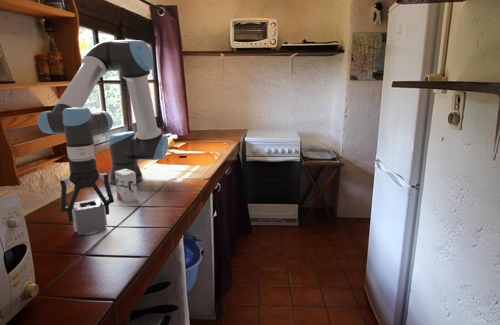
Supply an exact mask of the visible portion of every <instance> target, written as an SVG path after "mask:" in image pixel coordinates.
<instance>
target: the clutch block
mask: <svg viewBox="0 0 500 325" xmlns="http://www.w3.org/2000/svg"><path fill="white" fill-rule="evenodd" d="M103 204H104V203H103V202H102V200H101V199H100V197H99V198H95V199H88V200H80V201H77V202H76V201H75V204H74V207H73V209H74V211H75V217H76V224H77V236H81V234H86V233H91V232H95V231H100V230H102V231H104V230H107V225H106V223H105V215H104V206H103ZM86 205H91V206H88V207H86Z"/></svg>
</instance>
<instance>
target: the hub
mask: <svg viewBox="0 0 500 325" xmlns="http://www.w3.org/2000/svg"><path fill="white" fill-rule="evenodd" d="M88 206H91V205H86V207H88ZM102 231H103V230H100V231H95V232H91V233H86V234H81V235H82V236H91V235H92V236H93V235H96V234H98V233H100V232H102ZM81 235H80V236H81Z"/></svg>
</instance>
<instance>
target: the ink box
mask: <svg viewBox="0 0 500 325" xmlns="http://www.w3.org/2000/svg"><path fill="white" fill-rule="evenodd" d="M115 178H116V184H115V189H116V197H117V199H118V200H120V201H123V202H124V203H127V204H128V203H131V202H135V201H138V188H137V187H138V186H137V182H136V174H135V172H133V171H131V170H128V169H122V170H118V171H115Z"/></svg>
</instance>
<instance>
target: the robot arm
mask: <svg viewBox="0 0 500 325" xmlns="http://www.w3.org/2000/svg"><path fill="white" fill-rule="evenodd" d="M80 65H81V66H80V67H79V69H78V70H77V72H76V73H75V74H74V77H73V78H72V79H71V81H70V83H69V84H68V85H67V87H66V89H65V90H64V91H63V93H62V95H61V96H60V98H58V100H57V102H56V104H55V106H54V107H53V108H52V110H47V111H42V112H40V113H39V115H38V117H37V126H38V128H39V129H40V131H41V132H42V133H45V134H49V135H64V136H65V142H66V150H67V151H66V154H67V158H68V159H69V161H68V165H69V167H68V168H69V173H70V174H69V176H68V177H66V178H60V179H59V183H60V186H61V192H60V204H59V205H60V206H59V208H60V211H61V212H64V213H65V212H66V213H67V219H68V222H71V223H72V224H73V230H74V233H76V232H77V224H76V217H75V211H74V208H73V207H74V204H75V202H76V200H77V198H78V195H79V193H80V190H84V189H86V188H89V189H91V188H93V190H94V191H95V193H96V194H97V196H98V197H99V198H100V200H101V202H102V204H103V206H104V215H105V223H106V226H108V220H107V215H110V207H109V206H110V205H111V204H113V203H114V202H115V200H114V196H113V192H112V190H111V186H110V184H112V185H116V178H115V171H118V170H122V169H128V170H131V171H133V172H135V174H136V183H140V182H141V181H143V180H144V179H143V176H144V175H143V173H142V170H141V167H140V165H139V164H138V160H143V161H152V160H153V161H159V160H164V159H165V157H166V155H167V153H168V147H169V138H168V136H167V135H165V134H163V133H162V130H161V129H160V128H159V127H158V125H157V120H156V115H155V108H154V104H153V100H152V93H151V90H150V85H149V78H148V77H149V75H150V74H151V70H153V67H154V57H153V53H152V50H151V48H150V46H149V45H148V44H147V42H146V41H145V40H141V39H140V40H136V39H118V40H117V39H116V40H111V39H110V40H104V41H102V42H100V43H97V44H95V45H94V46H93V47H92V48H90V49H89V50H88V51H87V52H86V53H85V54H84V55H83V57H82V59H81V61H80ZM111 71H119V72H120V75H121V78H123V79H124V80H125V81H126V84H127V89H128V94H129V98H130V101H131V106H132V111H133V115H134V119H135V124H136V129H137V131H136V132H135V131H133V130H131V131H130V130H129V131H124V132H118V133H114V134H112V135H110V136H109V138H108V139H109V144H108V145H109V152H110V158H111V159H110V160H111V168H110V173H109V174H108V173H107V172H104V173H99V172H98V167H97V166H98V165H97V159H96V158H95V156H96V150H95V142H94V136H97V135H101V134H105V133H107V132H109V131H110V130H111V129H112V127H113V124H114V121H113V120H114V119H113V117H112V116H111V114H110V113H109V112H107V111H105V110H94V111H91V110H90V109H89V108H88V107H84V106H85V104H86V103H87V101H88V99H89V97H90V96H91V94H92V92H93V91H94V89H95V87H96V86H97V84H98V82H99V80H100V79H101V78H103V77H105V75H106V74H107V73H108V72H111ZM99 178H100V179H101V181H103V182H102V183H103V185H104V188H105V192H106V194H107V198H106V197H105V196H104V194H103V193H102V191H101V190H100V188H99V187H98V185H97V184H96V182H97V181H98V180H99ZM69 183H72V184H73V185H74V187H73V190H72V194H71V196H70V200H69V202H68V204H67V206H66V202H67V186H69ZM77 233H78V232H77Z"/></svg>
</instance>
